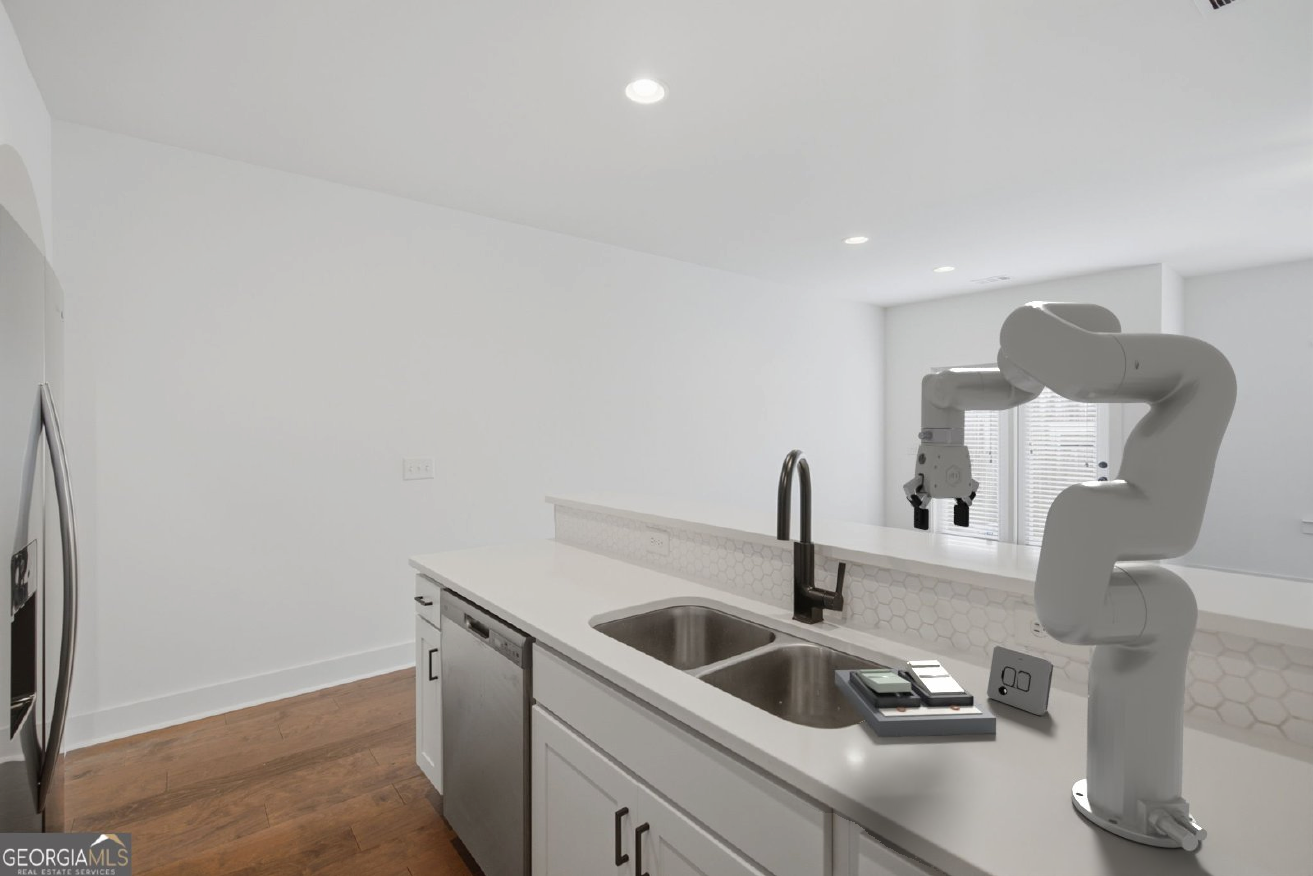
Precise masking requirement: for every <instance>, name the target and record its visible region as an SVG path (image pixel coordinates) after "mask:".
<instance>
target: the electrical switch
mask: <svg viewBox="0 0 1313 876" xmlns="http://www.w3.org/2000/svg"><path fill="white" fill-rule="evenodd" d="M992 653H993V654H992V659H991V665H990V672H989V677H988V684H987V692H986V694H987V696H988V697H989V699H993V700H994V701H998V702H1000V703H1003V704H1005V705H1006V704H1007V705H1009V706H1012V707H1015V708H1018V709H1020V710H1023V711H1026V712H1029V713H1032V714H1034V715H1037V716H1041V717H1042V716H1044V715H1045V713H1046V711H1048V706H1049V700H1050V692H1051V684H1052V678H1053V672H1054V664H1052V661H1051V660H1050V659H1048V658H1044V657H1040V656H1037V655H1033V654H1029V653H1028V652H1027V653H1026V652H1024V651H1020V650H1017V649H1012V648H1009V647H1006V646H1002V645H996V646H995V647H993V650H992Z"/></svg>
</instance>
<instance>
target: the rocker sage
mask: <svg viewBox="0 0 1313 876" xmlns="http://www.w3.org/2000/svg"><path fill="white" fill-rule="evenodd" d="M888 669H889V668H877V669H874V668H873V670H866V669H858V670H859V672H858V677H859V678H860V679H861V680H862V682H863V683H864V684H866V685H867V686H869V687H871V688H872V689H874V690H875V691H877V692H912V691H911V683H910V682H909V681H907V680H905V679H903V678H901V677H899V676H898V675H895V674H893V673H891V672H890V670H888Z"/></svg>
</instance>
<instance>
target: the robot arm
mask: <svg viewBox="0 0 1313 876" xmlns="http://www.w3.org/2000/svg"><path fill="white" fill-rule="evenodd" d="M999 345H1000V347H999V349H998V352H997V357H996V362H997V367H998V368H989V367H987V368H985V367H982V368H981V367H976V368H975V367H973V368H972V367H970V368H966V367H965V368H963V367H961V368H959V367H957V368H955V367H954V368H948V369H945V370H942V371H940V372H931V373H928V374H925V375H924V376H923V378H922V379H921V397H920V398H921V401H920V402H921V405H920V407H921V409H920V413H921V415H920V418H921V419H920V424H921V425H920V427H921V428H920V432H918V434H917V435H918V439H920V442H921V443H920V445H919V444H918V445H919V446H918V449H917V455H916V460H915V469H914V477H913V478H912V479H910V480H908V481H906V483H905V484H903V486H902V489H903V491H904V493H905V495H906V500H907V501H908V502H909V503H910V506H911V508H913V528H914V529H918V530H922V531H928V530H929V529H930V510H929V508H927V506H928V505H929V504H930V502H931V501H932V499H936V500H937V499H938V500H941V499H953V500H954V501H955V504H953V525H954V526H957V527H963V528H969V526H970V507H972V506H973V501H974V499H975V498H976V496H977V492H978V489H979V486H980V483H979V481H977V480H975V479H974V478H972V477H973V474H972V463H971V455H970V451H969V447H968V445H966V444H965V425H966V424H965V423H966V422H965V420H966V419H965V417H966V416H965V415H966V414H965V413H966V412H965V411H968V412H969V411H992V412H993V411H994V412H995V411H999V412H1001V411H1007V410H1011V409H1014V408H1016V407H1019V406H1021V405H1024V404H1027V403H1030V402H1031V401H1034V400H1036V399H1037V398H1038V397H1039V396H1040V395H1041V393H1042V392H1043V391H1044V389H1045V387H1046V388H1047V389H1049V390H1050V391H1051V392H1054V394H1057V395H1058V396H1060V397H1062V398H1064V399H1066V400H1069V401H1073V402H1077V403H1083V404H1141V403H1142V404H1147V405H1149V406H1150V410H1149V411H1148V412H1147V413H1146V414H1144V416H1143V417H1142V418H1140V420H1139V421H1138V422H1137V423H1136V425H1134V427H1133V429H1132V430H1131V432H1130V433H1129V435H1128V437H1127V439H1126V441H1125V444H1124V446H1123V452H1122V459H1121V463H1120V466H1119V470H1118V473H1117V475H1116V476H1115V478H1114V479H1113V480H1102V481H1101V480H1097V481H1084V482H1083V481H1082V482H1078V483H1075V484H1072V485H1070V486H1067V487H1065V488H1064V489H1063V490H1062V491H1061V492H1060V493H1059V494H1058V495H1057V496H1056V497H1055V499H1054V500H1053V501H1052V502H1051V504H1050V507H1049V509H1048V510H1047V511H1048V512H1047V515H1046V520H1045V523H1044V529H1043V535H1042V540H1041V546H1040V552H1039V559H1038V564H1037V569H1036V574H1035V575H1036V576H1035V582H1034V588H1033V593H1034V594H1033V604H1034V605H1033V606H1034V610H1035V615H1036V618H1037V620H1038V622H1039V624H1040V626H1041V628H1043V630H1044V631H1045V633H1047V635H1048V636H1050V637H1051V638H1052V639H1055V640H1056V641H1058V642H1060V643H1063V644H1066V645H1071V646H1079V647H1080V646H1081V647H1083V646H1094V650H1093V653H1092V654H1091V657H1090V660H1089V667H1088V678H1087V679H1088V681H1087V682H1088V683H1087V715H1086V716H1087V717H1086V718H1087V719H1086V720H1087V723H1086V724H1087V725H1086V727H1087V729H1086V766H1085V768H1086V770H1085V772H1086V773H1085V774H1086V776H1085V778H1084V779H1081V780H1079V781H1076V782H1075V783H1074V784H1073V785H1072V787H1071V801H1072V804H1073V805H1074V806H1075V808H1076V809H1077V810H1078V811H1079V812H1080V813H1081V814H1082V815H1083V816H1085V818H1087V819H1088V820H1089V821H1091V822H1092V823H1094V824H1095V825H1097V826H1099V827H1100V828H1102V829H1104V830H1106V831H1108V832H1109V833H1112V834H1114V835H1117V836H1119V837H1122V838H1123V839H1126V840H1130V841H1133V842H1136V843H1140V844H1144V845H1148V846H1153V847H1161V848H1171V849H1172V848H1173V849H1174V848H1175V849H1176V848H1182V849H1184V850H1185V851H1187V852H1193V851H1194V850H1196V848H1197V847H1198V845H1199V841H1205V840H1206V839H1207V837H1208V832H1207V830H1206V829H1205V828H1203V827H1202V826H1200V825H1198V822H1197V820H1196V818H1195V817H1194V816H1193V815H1192V814H1191V813H1190V802H1189V801H1187V800H1186V799H1185V798H1184V797H1183V766H1184V765H1183V760H1184V759H1183V758H1184V756H1183V755H1184V721H1185V720H1184V717H1185V716H1184V715H1185V713H1184V712H1185V711H1184V709H1185V699H1186V697H1185V696H1186V695H1185V693H1186V691H1185V690H1186V676H1187V675H1186V674H1187V666H1188V665H1187V663H1188V658H1189V653H1190V648H1191V645H1192V642H1193V639H1194V635H1195V631H1196V626H1197V623H1198V610H1199V609H1198V603H1197V598H1196V596H1195V593H1194V591H1193V589H1192V588H1191V587H1190V585H1189V584H1188V582H1186V581H1185V580H1184V578H1182V576H1180V575H1178V574H1177V573H1176V572H1174V571H1172V570H1170V569H1167V568H1165V567H1162V566H1159V565H1155V564H1149V563H1139V562H1141V561H1143V562H1145V561H1159V560H1160V561H1162V560H1170V559H1176V558H1180V557H1183V556H1185V555H1187V554H1188V553H1189V552H1191V551H1192V550H1193V549H1194V548H1195V545H1196V544H1197V540H1198V539H1199V537H1200V536H1199V535H1200V533H1201V528H1202V526H1203V525H1202V524H1203V519H1204V516H1205V513H1206V508H1207V504H1208V499H1209V494H1210V490H1211V486H1212V482H1213V478H1214V473H1215V468H1216V462H1217V459H1218V456H1219V455H1218V454H1219V450H1220V448H1221V445H1222V442H1223V439H1224V436H1225V434H1226V431H1227V428H1228V426H1229V424H1230V421H1231V418H1232V417H1233V412H1234V410H1235V407H1236V402H1237V395H1238V384H1237V383H1238V381H1237V377H1236V373H1235V371H1234V369H1233V367H1232V364H1231V362H1230V361H1229V360H1228V357H1226V356H1225V355H1224V354H1223V352H1221V350H1220V349H1218V348H1217V347H1215V346H1214V345H1212V344H1211V343H1208V342H1206V341H1204V340H1202V339H1200V338H1196V337H1194V336H1188V335H1187V336H1186V335H1182V334H1181V335H1180V334H1174V333H1164V332H1162V333H1159V332H1122V325H1121V323H1120V320H1119V319H1118V316H1117V315H1115V314H1114V312H1112V311H1111V310H1110V309H1109V308H1107V307H1104V306H1102V305H1099V304H1095V303H1089V302H1088V303H1087V302H1065V301H1061V302H1059V301H1032V302H1028V303H1025V304H1022V305H1021V306H1019V307H1017V308H1015V309H1014V310H1013V311H1012V312H1010V314H1009V315H1008V316H1007V317H1006V318H1005V320H1004V321H1003V323H1002V326H1001V329H1000V331H999ZM1117 562H1119V563H1117ZM1120 562H1127V563H1120ZM1128 562H1129V563H1128ZM1130 562H1131V563H1130ZM1133 562H1134V563H1133ZM1137 562H1138V563H1137Z"/></svg>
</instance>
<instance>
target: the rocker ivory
mask: <svg viewBox="0 0 1313 876" xmlns="http://www.w3.org/2000/svg"><path fill="white" fill-rule="evenodd" d="M906 670H907V671H908V672H909V673H910V675H911V676H912V677H913V678H914V680H915V681H916V682H917V683H918V685H919V686H920V687H921V688H922V689H923V690H924V691H926V692H927V693H928V694H929V695H964V691H963V690H962V688H963V687H962V686H961V685H960V686H961V687H962V688H961V687H960V686H959V684H958V682H956V680H955V679H954V678H952V676H951V675H950V674H949V673H948V672H947V670H946V669H945V668H944V667H943V666H942V665H941V663H940V662H939V661H938V660H914V661H913V660H911V661H910V660H909V661H908V662H906Z"/></svg>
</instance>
